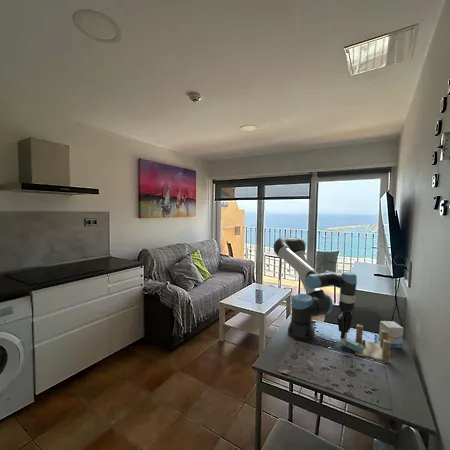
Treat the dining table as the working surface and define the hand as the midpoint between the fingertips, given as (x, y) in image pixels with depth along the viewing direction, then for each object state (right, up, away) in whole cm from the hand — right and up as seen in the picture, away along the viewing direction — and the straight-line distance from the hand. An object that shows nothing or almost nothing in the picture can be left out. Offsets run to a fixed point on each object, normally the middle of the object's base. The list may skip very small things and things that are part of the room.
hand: (343, 343), depth 139 cm
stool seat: (+14, -3, -2) cm, 15 cm away
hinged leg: (+4, -1, -2) cm, 4 cm away
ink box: (+29, -3, +6) cm, 30 cm away
